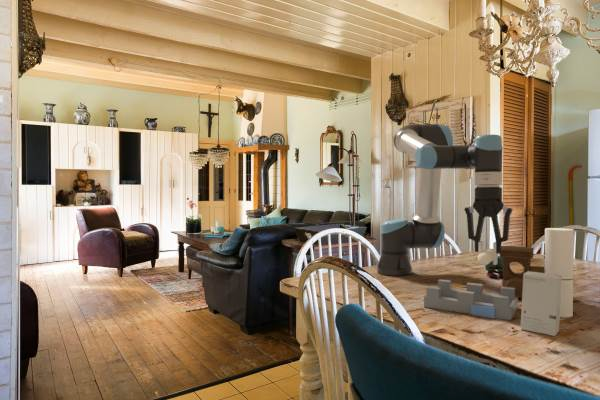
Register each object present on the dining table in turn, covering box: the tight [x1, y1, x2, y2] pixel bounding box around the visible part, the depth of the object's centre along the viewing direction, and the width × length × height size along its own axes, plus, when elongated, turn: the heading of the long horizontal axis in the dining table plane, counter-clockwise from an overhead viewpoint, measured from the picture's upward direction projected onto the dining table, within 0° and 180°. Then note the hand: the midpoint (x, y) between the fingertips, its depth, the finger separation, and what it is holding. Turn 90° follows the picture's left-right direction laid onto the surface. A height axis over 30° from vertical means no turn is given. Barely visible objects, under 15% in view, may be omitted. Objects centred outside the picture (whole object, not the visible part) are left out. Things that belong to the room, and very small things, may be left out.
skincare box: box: [520, 271, 562, 337], centre depth 108 cm, size 8×6×15 cm
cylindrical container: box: [544, 227, 575, 318], centre depth 122 cm, size 7×7×25 cm
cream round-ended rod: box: [477, 248, 493, 266], centre depth 126 cm, size 4×14×4 cm, turn 146°
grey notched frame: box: [423, 279, 519, 321], centre depth 129 cm, size 25×15×6 cm, turn 56°
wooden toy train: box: [499, 245, 545, 299], centre depth 141 cm, size 20×11×17 cm, turn 58°
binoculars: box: [484, 255, 504, 280], centre depth 172 cm, size 9×11×10 cm
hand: (487, 263), depth 126 cm, fingers closed on cream round-ended rod, 3 cm apart
